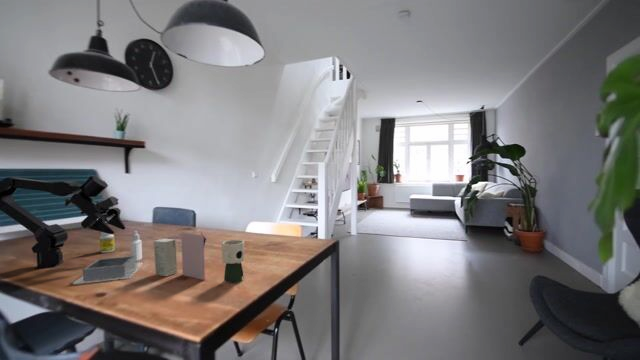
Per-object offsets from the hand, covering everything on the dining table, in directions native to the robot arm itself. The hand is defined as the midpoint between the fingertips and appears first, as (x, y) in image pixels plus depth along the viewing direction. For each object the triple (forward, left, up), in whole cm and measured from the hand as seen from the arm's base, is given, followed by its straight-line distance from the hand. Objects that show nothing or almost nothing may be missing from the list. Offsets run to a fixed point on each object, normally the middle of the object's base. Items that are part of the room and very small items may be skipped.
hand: (119, 231), depth 117 cm
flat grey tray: (+2, -16, -12) cm, 20 cm away
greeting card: (+31, -29, -13) cm, 44 cm away
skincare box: (+21, -23, -13) cm, 33 cm away
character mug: (+44, -38, -13) cm, 59 cm away
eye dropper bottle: (+6, -1, -13) cm, 14 cm away
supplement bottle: (-11, +19, -13) cm, 26 cm away
